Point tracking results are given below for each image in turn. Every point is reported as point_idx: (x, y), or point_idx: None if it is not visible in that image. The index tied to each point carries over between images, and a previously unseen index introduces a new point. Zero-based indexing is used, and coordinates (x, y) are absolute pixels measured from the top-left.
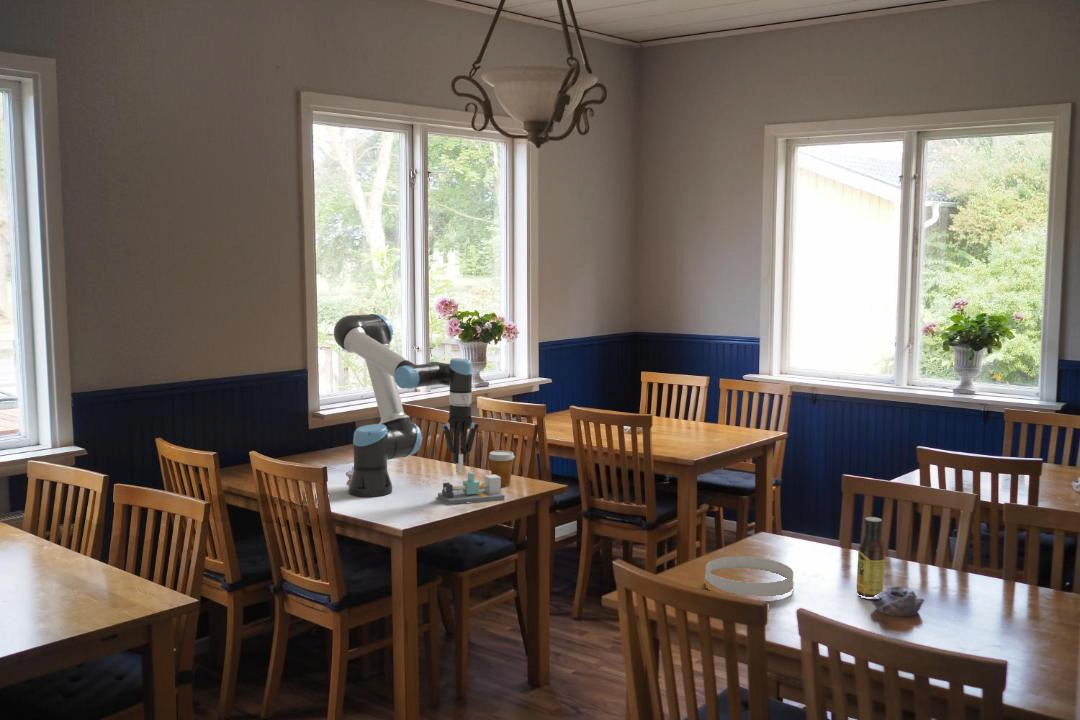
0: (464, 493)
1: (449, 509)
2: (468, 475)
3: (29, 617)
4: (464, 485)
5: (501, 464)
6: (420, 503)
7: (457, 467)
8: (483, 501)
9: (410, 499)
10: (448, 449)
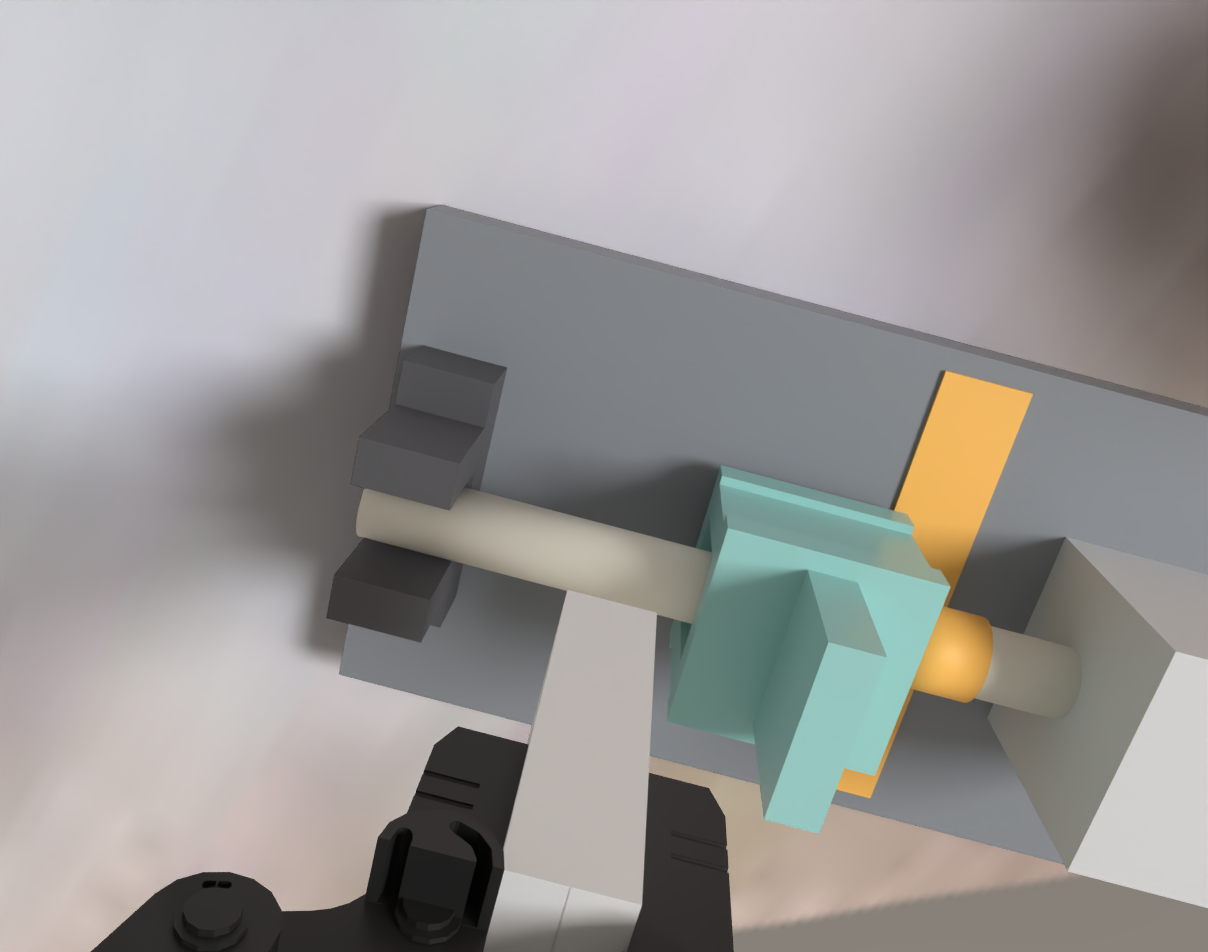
0: None
1: (258, 795)
2: (809, 639)
3: None
4: (680, 605)
5: None
6: (78, 365)
7: (534, 717)
8: None
9: (41, 75)
10: (123, 938)
